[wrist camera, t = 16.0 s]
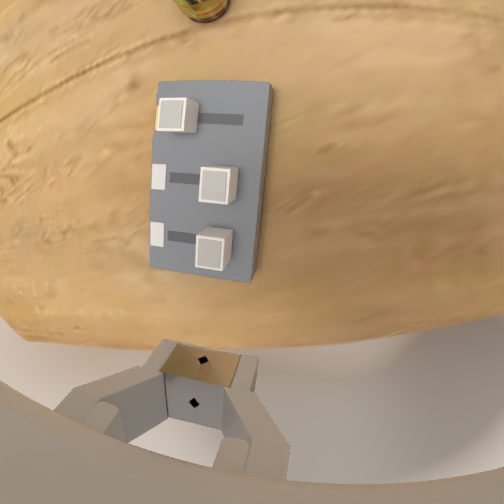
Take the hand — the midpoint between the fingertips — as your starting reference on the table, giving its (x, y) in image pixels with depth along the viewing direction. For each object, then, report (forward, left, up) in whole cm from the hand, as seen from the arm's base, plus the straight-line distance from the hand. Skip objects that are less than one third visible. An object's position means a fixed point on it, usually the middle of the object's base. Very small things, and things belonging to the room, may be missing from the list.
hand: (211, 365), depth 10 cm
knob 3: (+6, +4, -27) cm, 28 cm away
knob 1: (+11, -10, -27) cm, 31 cm away
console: (+9, -3, -31) cm, 32 cm away
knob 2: (+6, -3, -27) cm, 28 cm away
